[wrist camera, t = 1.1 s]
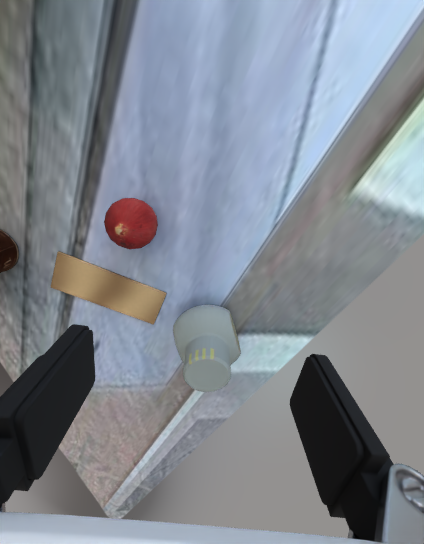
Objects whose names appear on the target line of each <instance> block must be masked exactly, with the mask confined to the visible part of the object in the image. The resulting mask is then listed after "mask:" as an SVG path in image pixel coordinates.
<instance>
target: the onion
mask: <svg viewBox="0 0 424 544" xmlns="http://www.w3.org/2000/svg"><path fill="white" fill-rule="evenodd" d="M104 223H105V229H106V232H107V234H108V236H109V237H110V239H111V240H112V241H113V242H115V243H116V244H117V245H118V246H121V247H124V248H127V249H137V248H142V247H143V246H145V245H147V244H148V243H150V242H151V240H152V239H153V238H154V236H155V235H156V230H157V226H158V223H157V217H156V215H155V213H154V211H153V209H152V208H151V207H150V206H149V205H148V204H147V203H145V202H144V201H141V200H138V199H135V198H123V199H121V200H119V201H117V202H115V203H113V204H112V205H111V206H110V208H109V209H108V211H107V212H106V216H105V221H104Z"/></svg>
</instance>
